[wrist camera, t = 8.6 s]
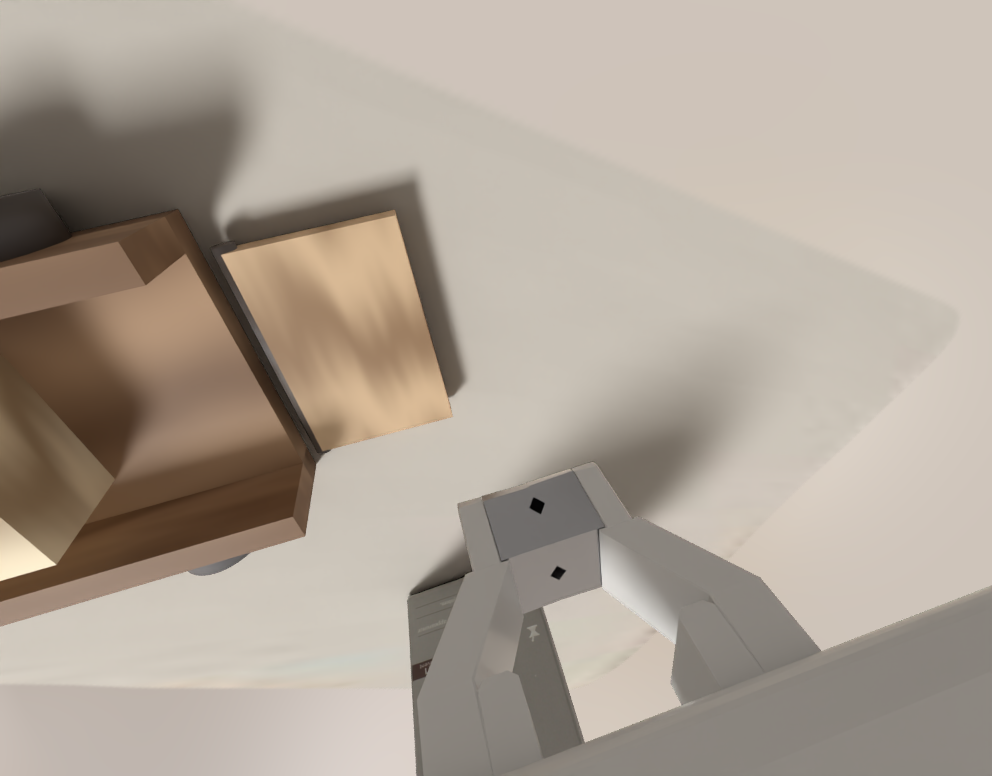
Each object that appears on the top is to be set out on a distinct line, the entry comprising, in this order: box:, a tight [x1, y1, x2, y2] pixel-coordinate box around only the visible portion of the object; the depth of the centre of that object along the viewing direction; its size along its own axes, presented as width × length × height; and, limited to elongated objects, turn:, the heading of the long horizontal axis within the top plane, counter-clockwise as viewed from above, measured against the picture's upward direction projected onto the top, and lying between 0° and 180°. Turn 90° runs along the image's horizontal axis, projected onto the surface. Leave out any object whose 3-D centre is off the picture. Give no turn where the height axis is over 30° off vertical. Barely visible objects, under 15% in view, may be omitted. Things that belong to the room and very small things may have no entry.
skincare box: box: [407, 577, 585, 776], centre depth 24 cm, size 8×7×16 cm
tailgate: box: [210, 210, 453, 454], centre depth 18 cm, size 9×1×6 cm
